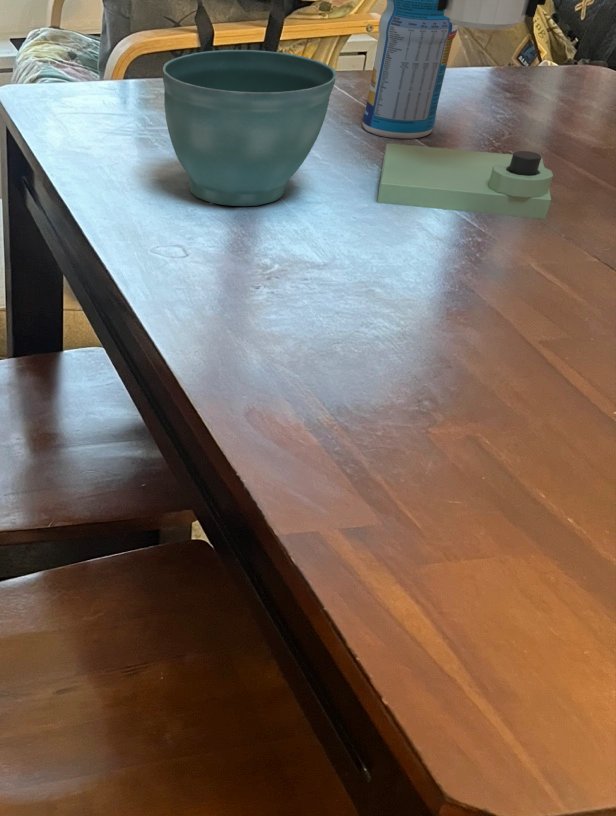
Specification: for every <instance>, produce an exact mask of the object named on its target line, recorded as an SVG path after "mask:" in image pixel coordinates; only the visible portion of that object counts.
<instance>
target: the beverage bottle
mask: <svg viewBox="0 0 616 816" xmlns="http://www.w3.org/2000/svg"><path fill="white" fill-rule="evenodd" d="M437 4H438V0H386V7H385V9H384V10H383V12H382V13H381V15H380V19H379V22H378V40H377V45H376V51H375V58H374V63H373V68H372V74H371V79H370V84H369V89H368V95H367V100H366V105H365V109H364V112H363V117H362V127H363V129H364V130H365V131H367V132H368V133H370V134H373V135H375V136H379V137H383V138H389V139H395V140H396V139H397V140H414V139H420V138H424V137H426V136H429V135H430V134H431V133H432V132H433V130H434V128H435V123H436V117H437V111H438V105H439V100H440V96H441V91H442V87H443V83H444V79H445V74H446V70H447V66H448V62H449V58H450V53H451V50H452V44H453V40H454V39H455V38H456V36H457V32H458V30H459V29H458V28H459V26H457V25H454V24H452V23H451V22H450V21H449V20H450V18H448V17H446V16H444V9H443V11H437Z"/></svg>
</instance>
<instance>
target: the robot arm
mask: <svg viewBox="0 0 616 816" xmlns="http://www.w3.org/2000/svg"><path fill="white" fill-rule="evenodd" d="M546 2H547V0H530V1H529V4H528V8H527V12H526V16H527V17H528V18H535V17H536V13H537V8H538V6H545V5H546ZM446 5H447V0H438V4H437V11H443V9H446Z"/></svg>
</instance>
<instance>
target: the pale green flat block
mask: <svg viewBox="0 0 616 816" xmlns="http://www.w3.org/2000/svg"><path fill="white" fill-rule="evenodd" d="M512 156H513V154H511V153H499V152H489V151H477V150H465V149H456V148H443V147H433V146H432V147H431V146H422V145H410V144H401V143H390V142H389V143H386V146H385V150H384V155H383V160H382V167H381V173H380V179H379V180H380V181H379V187H378V192H377V201H376V203H378V204H386V205H394V206H395V205H396V206H405V207H406V206H407V207H416V208H427V209H435V210H436V209H437V210H448V211H455V212H456V211H457V212H464V213H465V212H467V213H477V214H486V215H498V216H506V217H517V218H526V219H537V220H546V218H547V216H548V212H549V209H550V206H551V203H552V197H551V196H552V195H551V192H550V187H551V184H552V181H553V178H554V174H553V171H552V170H551V169H549V168H547V167H545V165H544V160H543V156H541V160H540V164H539V167H538V170H537V174H536V175H534V176H524V175H517V174H513V173H510V172H508V170H509V167H510V163H511V160H512Z"/></svg>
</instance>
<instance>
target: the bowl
mask: <svg viewBox="0 0 616 816" xmlns="http://www.w3.org/2000/svg"><path fill="white" fill-rule="evenodd" d="M529 1H530V0H447V5H446V9H444V16H446V17H448V18H450V20H449V21H450V22H451V23H452V24H454V25H457V26H458V27H460V28H465V29H472V30H481V31H503V30H510V29H513V28H515V26H516V24H518V25H519V24H520V23H523V22H524V21H525V19H526V16H527V15H526V12H527V8H528V4H529Z"/></svg>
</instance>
